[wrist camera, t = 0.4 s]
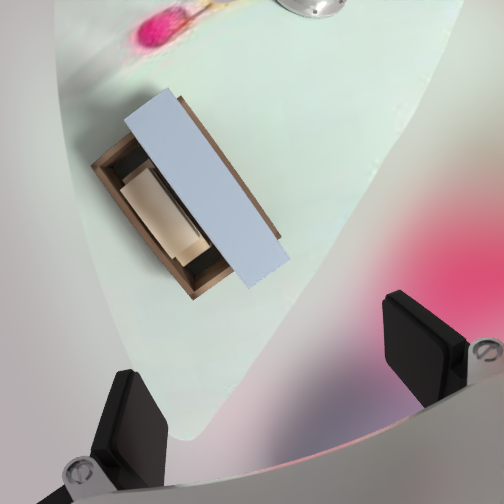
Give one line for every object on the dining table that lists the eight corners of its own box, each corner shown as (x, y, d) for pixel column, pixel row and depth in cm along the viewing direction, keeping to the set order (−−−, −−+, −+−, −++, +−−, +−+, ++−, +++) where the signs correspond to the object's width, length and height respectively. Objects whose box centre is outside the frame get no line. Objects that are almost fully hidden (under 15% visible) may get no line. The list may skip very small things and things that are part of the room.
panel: (184, 126, 40) (168, 87, 20) (252, 221, 44) (290, 259, 25) (160, 144, 40) (123, 119, 20) (229, 238, 44) (248, 288, 25)
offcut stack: (151, 159, 40) (141, 156, 33) (212, 241, 44) (214, 254, 37) (126, 179, 40) (111, 180, 33) (187, 259, 44) (183, 276, 37)
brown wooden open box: (184, 106, 39) (181, 95, 33) (271, 228, 45) (281, 236, 39) (105, 166, 39) (90, 165, 33) (194, 284, 45) (193, 300, 39)
